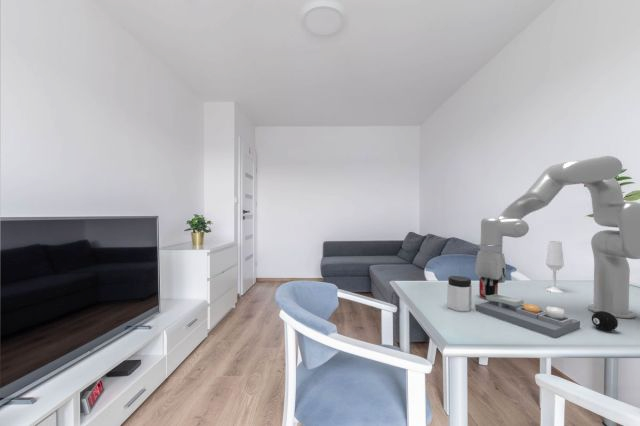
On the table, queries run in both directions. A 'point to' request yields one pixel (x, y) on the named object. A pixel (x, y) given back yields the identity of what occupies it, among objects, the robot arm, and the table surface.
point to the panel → (529, 318)
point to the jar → (459, 293)
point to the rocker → (505, 299)
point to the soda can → (482, 289)
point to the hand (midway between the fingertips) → (489, 294)
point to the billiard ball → (604, 321)
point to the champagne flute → (555, 261)
